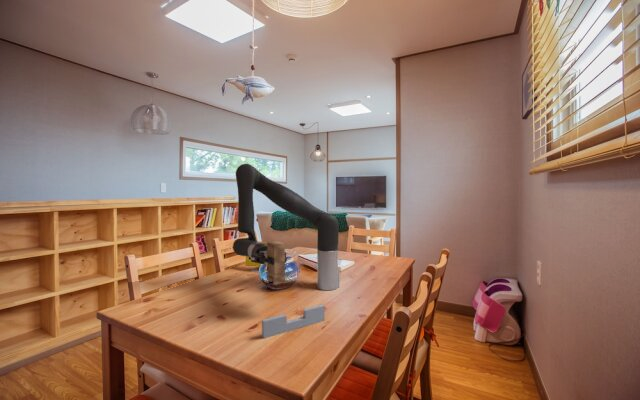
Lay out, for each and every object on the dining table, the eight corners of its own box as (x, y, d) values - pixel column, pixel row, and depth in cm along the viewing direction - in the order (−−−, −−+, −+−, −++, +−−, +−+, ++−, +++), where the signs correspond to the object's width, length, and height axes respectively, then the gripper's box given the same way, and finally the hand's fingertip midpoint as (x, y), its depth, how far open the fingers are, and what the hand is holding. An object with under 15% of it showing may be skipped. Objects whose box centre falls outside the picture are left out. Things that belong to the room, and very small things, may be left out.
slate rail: (321, 318, 104) (321, 304, 104) (324, 320, 102) (324, 305, 102) (262, 336, 91) (261, 319, 91) (264, 338, 90) (264, 321, 90)
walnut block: (277, 278, 112) (277, 241, 111) (285, 282, 107) (284, 243, 106) (267, 280, 110) (267, 242, 109) (274, 284, 105) (274, 244, 104)
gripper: (242, 245, 116) (260, 253, 101) (276, 241, 124) (297, 247, 109) (242, 264, 116) (260, 275, 102) (276, 259, 124) (297, 268, 110)
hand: (279, 260), depth 106 cm, fingers closed on walnut block, 4 cm apart
